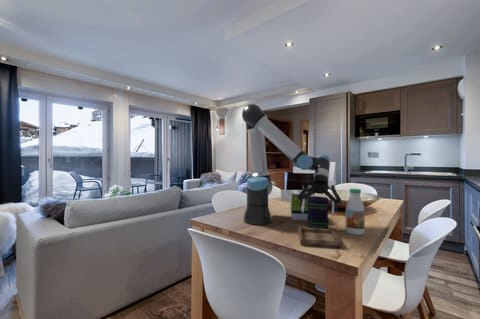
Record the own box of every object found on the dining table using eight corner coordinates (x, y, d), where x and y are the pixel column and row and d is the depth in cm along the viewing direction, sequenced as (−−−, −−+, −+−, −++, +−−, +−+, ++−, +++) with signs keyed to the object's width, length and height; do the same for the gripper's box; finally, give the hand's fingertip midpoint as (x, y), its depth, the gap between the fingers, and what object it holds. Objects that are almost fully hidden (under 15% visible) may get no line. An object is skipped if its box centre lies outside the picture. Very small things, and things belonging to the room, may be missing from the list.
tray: (300, 245, 88) (300, 238, 88) (298, 232, 103) (298, 227, 103) (341, 248, 85) (341, 241, 85) (333, 235, 100) (333, 229, 100)
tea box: (289, 213, 139) (289, 189, 139) (306, 214, 138) (306, 189, 138) (291, 219, 124) (292, 193, 124) (310, 220, 123) (310, 193, 123)
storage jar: (302, 228, 110) (302, 197, 109) (315, 224, 115) (315, 195, 115) (320, 233, 101) (320, 200, 101) (333, 230, 107) (333, 198, 107)
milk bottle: (341, 231, 105) (342, 188, 105) (353, 229, 108) (353, 187, 108) (356, 236, 98) (356, 190, 98) (368, 234, 101) (368, 189, 101)
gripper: (346, 184, 117) (346, 220, 103) (298, 182, 128) (292, 214, 114) (346, 174, 112) (346, 211, 98) (296, 173, 123) (289, 205, 109)
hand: (317, 213), depth 106 cm, fingers open, 13 cm apart
